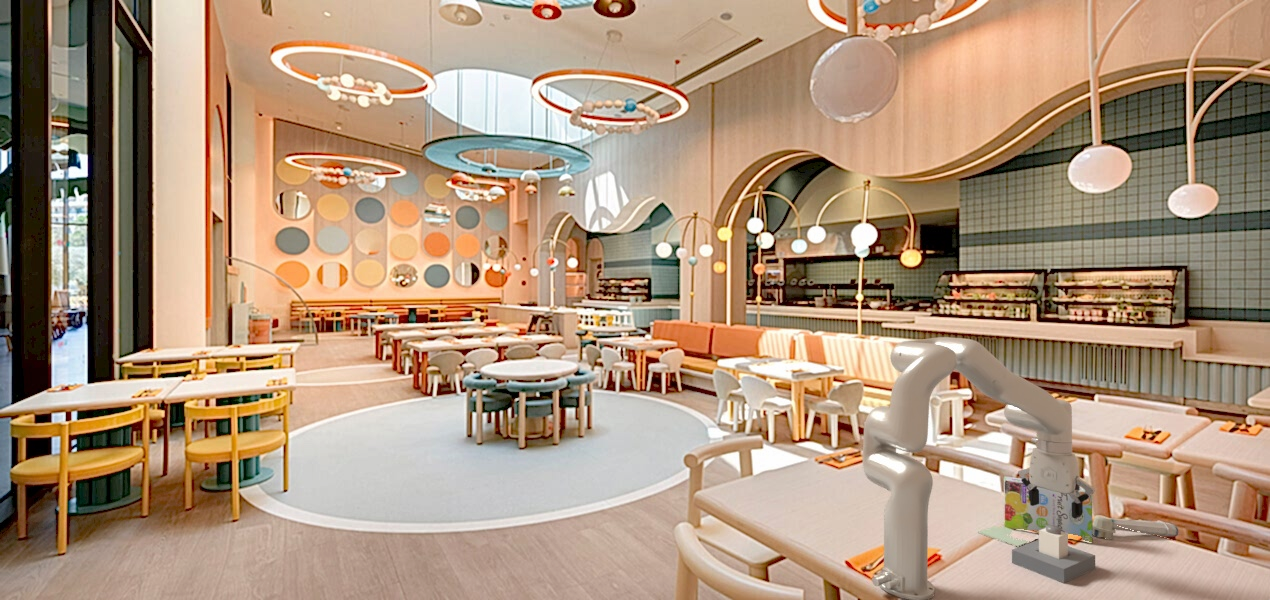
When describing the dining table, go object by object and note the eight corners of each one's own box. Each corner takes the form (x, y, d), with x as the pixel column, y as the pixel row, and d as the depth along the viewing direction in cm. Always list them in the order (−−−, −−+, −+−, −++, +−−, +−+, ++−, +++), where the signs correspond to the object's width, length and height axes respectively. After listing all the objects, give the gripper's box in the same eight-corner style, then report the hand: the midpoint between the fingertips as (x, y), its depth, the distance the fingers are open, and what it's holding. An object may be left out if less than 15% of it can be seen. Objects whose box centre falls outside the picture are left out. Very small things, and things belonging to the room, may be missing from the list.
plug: (1058, 571, 143) (1058, 532, 143) (1038, 564, 147) (1039, 525, 147) (1067, 567, 145) (1067, 528, 145) (1047, 560, 149) (1048, 522, 149)
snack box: (1089, 538, 164) (1089, 487, 164) (1092, 545, 159) (1092, 492, 159) (1003, 522, 175) (1003, 474, 175) (1004, 528, 170) (1004, 479, 170)
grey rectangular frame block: (1063, 583, 137) (1064, 569, 137) (1011, 562, 147) (1012, 549, 147) (1095, 568, 144) (1095, 555, 144) (1043, 550, 155) (1043, 537, 155)
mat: (1017, 547, 157) (1017, 545, 157) (978, 532, 166) (978, 531, 166) (1038, 539, 162) (1038, 538, 162) (998, 526, 172) (998, 524, 172)
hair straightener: (1182, 526, 163) (1102, 515, 162) (1179, 548, 163) (1099, 538, 162) (1164, 519, 168) (1086, 509, 167) (1161, 541, 168) (1083, 531, 167)
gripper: (1011, 440, 152) (1011, 503, 152) (1086, 456, 137) (1087, 525, 137) (1026, 437, 155) (1026, 498, 155) (1100, 452, 140) (1101, 519, 140)
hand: (1054, 510), depth 146 cm, fingers open, 9 cm apart
